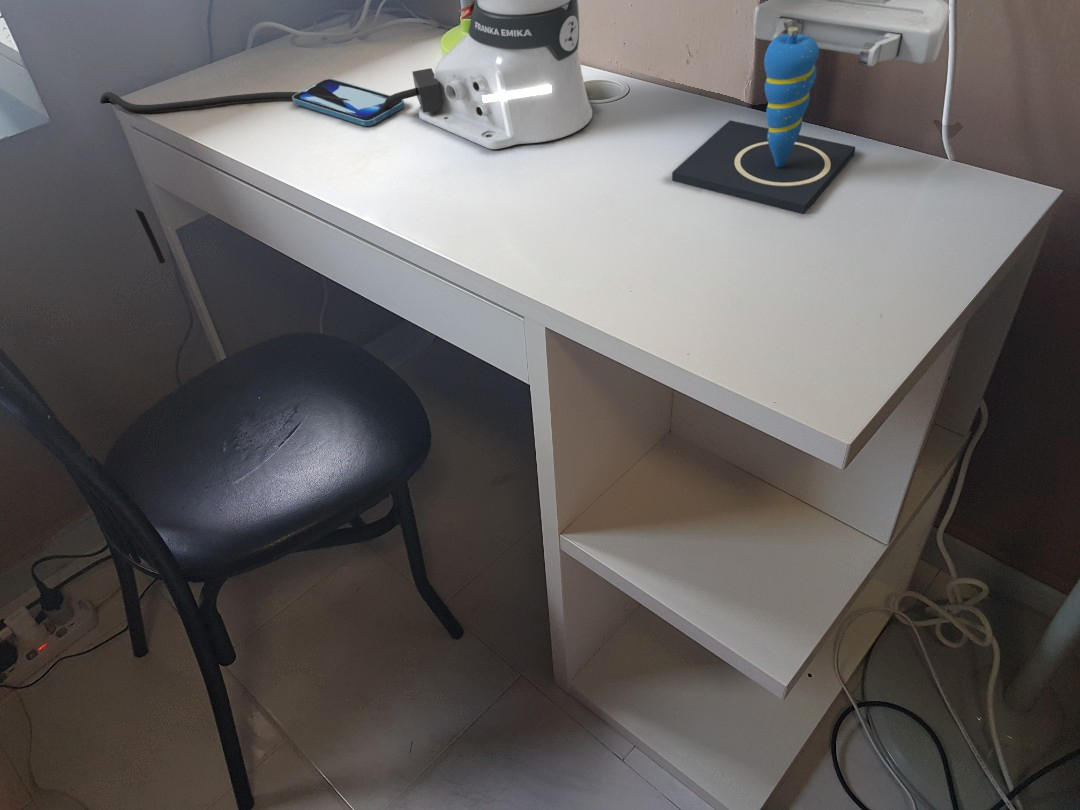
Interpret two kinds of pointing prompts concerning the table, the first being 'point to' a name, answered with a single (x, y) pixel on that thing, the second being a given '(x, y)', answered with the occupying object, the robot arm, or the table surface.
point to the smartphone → (346, 102)
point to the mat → (764, 167)
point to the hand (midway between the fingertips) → (820, 51)
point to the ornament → (788, 89)
